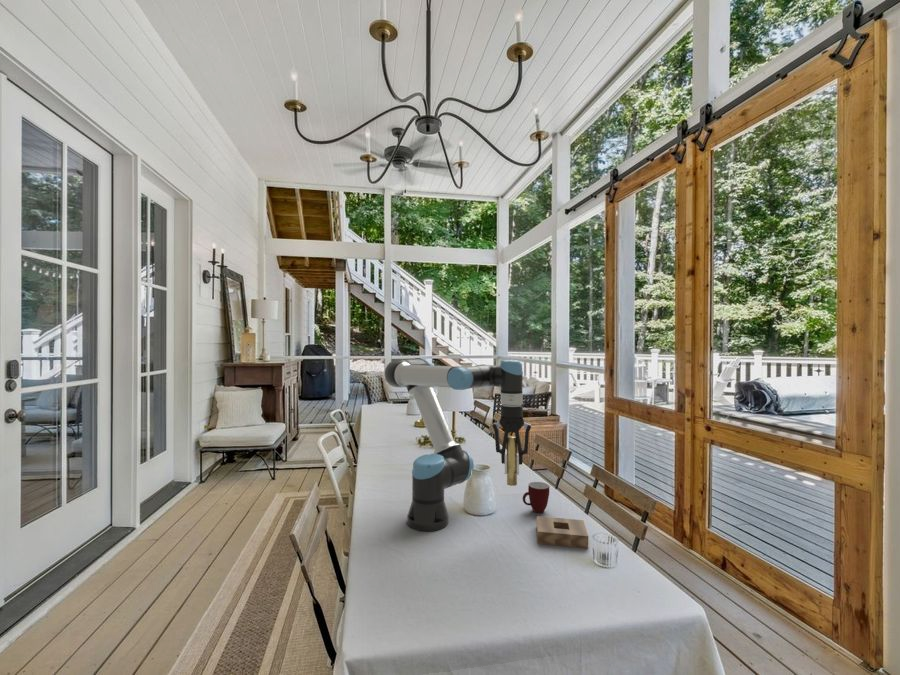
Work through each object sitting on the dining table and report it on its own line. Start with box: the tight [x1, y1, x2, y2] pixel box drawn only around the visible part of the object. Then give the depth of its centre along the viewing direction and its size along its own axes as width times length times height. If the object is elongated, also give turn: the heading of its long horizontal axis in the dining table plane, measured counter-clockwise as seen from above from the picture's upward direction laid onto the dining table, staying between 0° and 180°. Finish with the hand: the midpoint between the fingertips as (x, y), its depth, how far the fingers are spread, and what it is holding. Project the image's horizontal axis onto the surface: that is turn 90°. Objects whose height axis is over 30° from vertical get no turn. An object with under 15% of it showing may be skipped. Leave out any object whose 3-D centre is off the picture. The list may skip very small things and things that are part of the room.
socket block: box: [536, 515, 589, 549], centre depth 143 cm, size 16×12×4 cm
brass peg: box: [506, 435, 518, 487], centre depth 144 cm, size 3×3×16 cm
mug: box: [522, 481, 550, 514], centre depth 164 cm, size 10×8×10 cm
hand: (512, 473), depth 144 cm, fingers closed on brass peg, 3 cm apart
